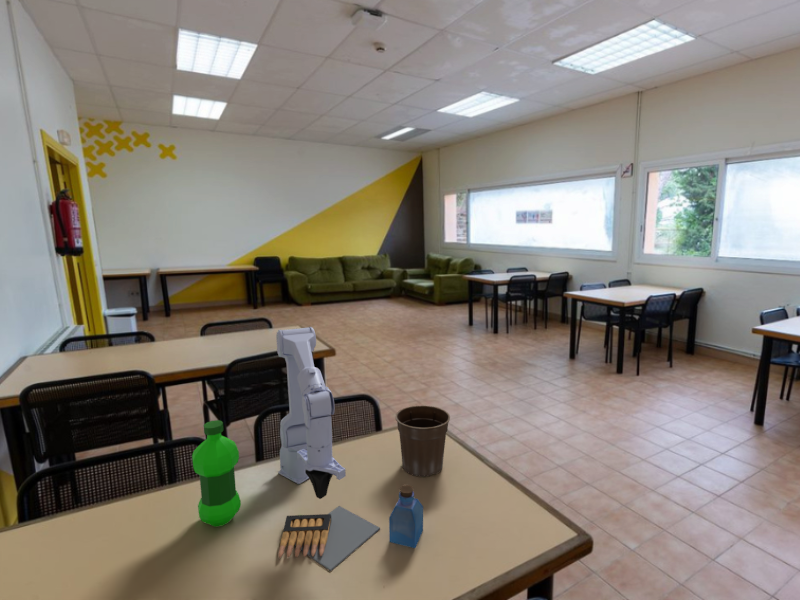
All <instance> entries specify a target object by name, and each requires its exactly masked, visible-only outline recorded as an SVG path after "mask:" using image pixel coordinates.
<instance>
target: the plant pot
mask: <svg viewBox="0 0 800 600" xmlns="http://www.w3.org/2000/svg"><path fill="white" fill-rule="evenodd" d="M394 418H395V421H396V423H397V424H396V425H397V431H398V432H399V442H400V451H401V452H400V453H401V465H402V469H403V470H405V471H406V473H408V474H409V475H412V476H415V477H423V478H425V477H431V476H432V475H438V474H439V473H440V472H441V471H442V469H443V467H444V466H443V465H444V455H445V447H446V446H445V445H446V437H447V433H448V429H449V428H448V427H449V422H450V421H451V415H450V413H449V412H447V411H446V410H445V409H443V408H440V407H437V406H432V405H411V406H410V405H409V406H407V407H404V408H401V409H400V410H398V411H397V412H396V413H395V416H394Z"/></svg>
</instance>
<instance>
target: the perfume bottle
mask: <svg viewBox="0 0 800 600" xmlns="http://www.w3.org/2000/svg"><path fill="white" fill-rule="evenodd" d="M419 500H420V499H418V498H415V491H414V487H413V485H409V484H403V485H401V486H400V487H399V493H398V501H397V502H396V504H395V506H394V507H393V509H392V511H391V513H390V516H388V517H389V519H388V520H389V521H388V523H389V527H388V528H389V534H388V536H389V543H392V544H396V545H401V546H404V547H409V548H412V549H417V546H418V543H419V541H420V539H421V536H422V534H423V531H424V506H423V505H422V503H421V501H419Z"/></svg>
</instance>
